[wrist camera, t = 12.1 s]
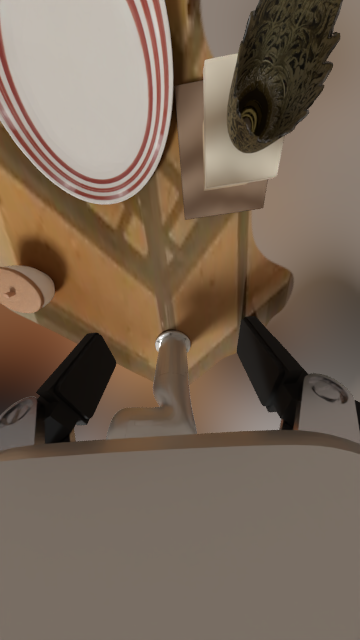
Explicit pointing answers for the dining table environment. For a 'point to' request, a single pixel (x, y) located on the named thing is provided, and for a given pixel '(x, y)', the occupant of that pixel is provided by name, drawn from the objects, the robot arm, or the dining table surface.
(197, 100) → the cream pedestal stand
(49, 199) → the dining table surface
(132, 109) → the dinner plate
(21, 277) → the lidded jar
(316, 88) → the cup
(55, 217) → the dining table surface
